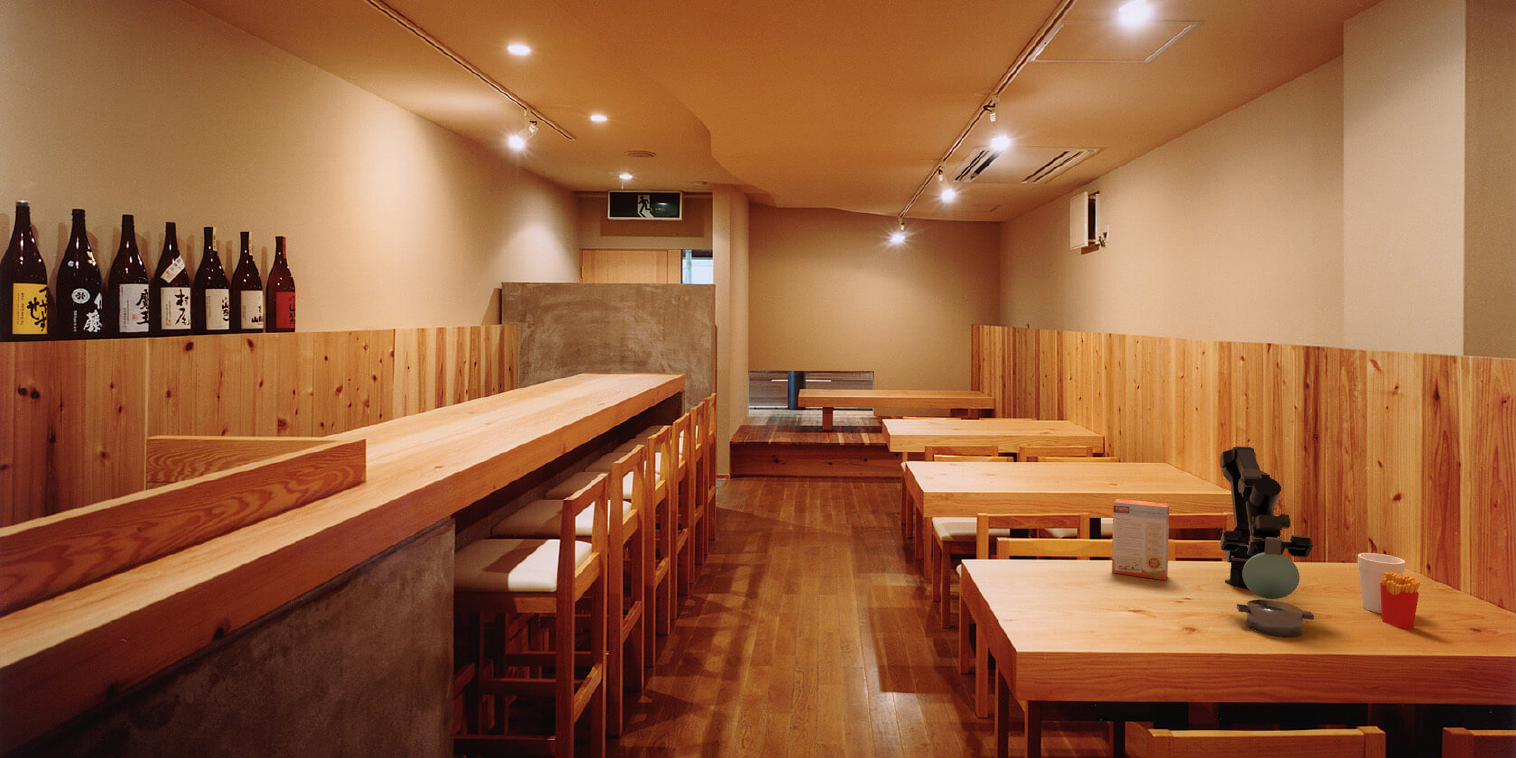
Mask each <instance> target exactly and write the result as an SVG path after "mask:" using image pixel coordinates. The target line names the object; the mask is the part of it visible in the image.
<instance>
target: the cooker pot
mask: <svg viewBox="0 0 1516 758" xmlns="http://www.w3.org/2000/svg"><path fill="white" fill-rule="evenodd" d="M1246 604H1247V605H1246ZM1246 604H1239V603H1236V609H1237V611H1238V612H1239V613H1246V626H1247V628H1249V629H1250V630H1252V629H1253V630H1252V631H1254V630H1256V631H1255V632H1257V631H1258V632H1257V633H1260V634H1263V633H1264V634H1263V635H1266V634H1267V635H1266V636H1272V637H1279V638H1299V637H1301V636H1302V635H1303V624H1304V623H1303V621H1304V620H1312V621H1313V620H1314V619H1315V615H1314V614H1313V613H1312V612H1311V611H1307V610H1302V609H1301V608H1300V607H1298V606H1296V605H1293V604H1290V603H1287V602H1282V601H1279V600H1277V601H1276V600H1273V599H1252V600H1249V601H1248V602H1247V603H1246ZM1300 635H1301V636H1300Z"/></svg>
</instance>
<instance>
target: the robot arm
mask: <svg viewBox="0 0 1516 758" xmlns="http://www.w3.org/2000/svg"><path fill="white" fill-rule="evenodd" d="M1219 457H1220V458H1219V467H1220V468H1221V470H1222V475H1223V476H1222V477H1224V478H1225V479H1226V480H1227V481H1228V483H1229V484H1230V491H1231V492H1230V494H1231V503H1232V513H1233V515H1232V516H1233V523H1234V524H1233V525H1234V529H1233V530H1228V529H1227V530H1224V531H1223V532H1222V535H1221V538H1220V540H1219V541H1220V550H1221V551H1224V555H1225V557H1224V558H1225V560H1226V562H1227V563H1229V564H1230V568H1229V569H1230V570H1229V572H1230V573H1229V574H1230V575H1229V579H1225V580H1224V582H1225V583H1226V584H1229V585H1233V586H1236V587H1239V588H1243V589H1248V587H1247V586H1246V584H1245V582H1244V580H1243V575H1242V572H1243V567H1244V565H1245V563H1246V562H1247V561H1248V560H1249V559H1250V558H1251V557H1253V556H1255V555H1257V554H1260V553H1264V552H1265V540H1266V537H1273V538H1281V535H1282V534H1281V531H1282V530H1284V529H1287V530H1288V529H1289V528H1291V517H1290V514H1284V513H1283V514H1282V513H1280V514H1279V515H1275V513H1274V507H1276V504H1277V502H1278V499H1279V496H1280V493H1281V492H1282V486H1281V484H1280V483H1279V482H1278V480H1276V479H1273V478H1271V475H1270V474H1269V473H1268V472H1265V471H1262V470H1261V468H1260V465H1259V463H1258V460H1257V453H1256V452H1255V448H1254V447H1251V446H1242V445H1241V446H1238V445H1236V446H1233V447H1232V448H1231V449H1227V450H1225V451H1223V452H1221V454H1220V456H1219ZM1281 540H1282V542H1281V553H1280V554H1282V555H1284V552H1285V550H1286V549H1287V552H1288V554H1289V555H1290V556H1292V557H1294V558H1295V557H1296V558H1308V557H1309V556H1310V553H1311V550H1312V548H1313V547H1314V544H1313V540H1312V538H1310V537H1309V536H1307V535H1304V536H1303V535H1293V534H1292V535H1291V536H1290V538H1289V540H1288V539H1286V540H1285V539H1281ZM1248 590H1249V589H1248Z"/></svg>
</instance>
